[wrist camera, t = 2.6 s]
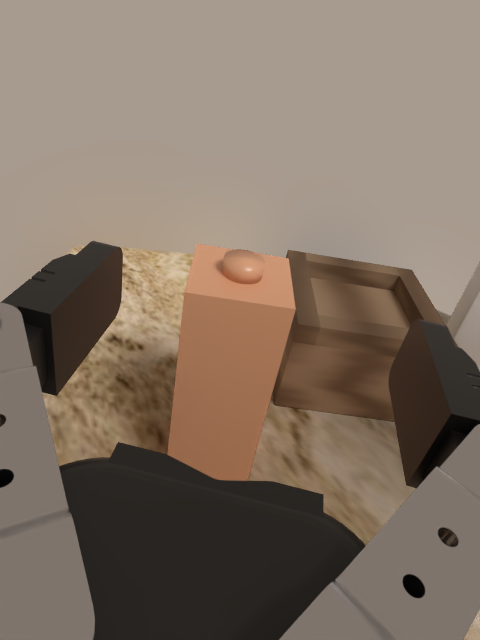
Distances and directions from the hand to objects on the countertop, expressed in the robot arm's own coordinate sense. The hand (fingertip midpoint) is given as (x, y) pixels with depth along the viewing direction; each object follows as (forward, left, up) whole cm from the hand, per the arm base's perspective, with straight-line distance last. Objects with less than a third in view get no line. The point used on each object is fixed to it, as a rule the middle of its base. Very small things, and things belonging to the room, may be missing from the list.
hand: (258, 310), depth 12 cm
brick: (0, -9, -17) cm, 19 cm away
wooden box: (-10, -19, -17) cm, 27 cm away
